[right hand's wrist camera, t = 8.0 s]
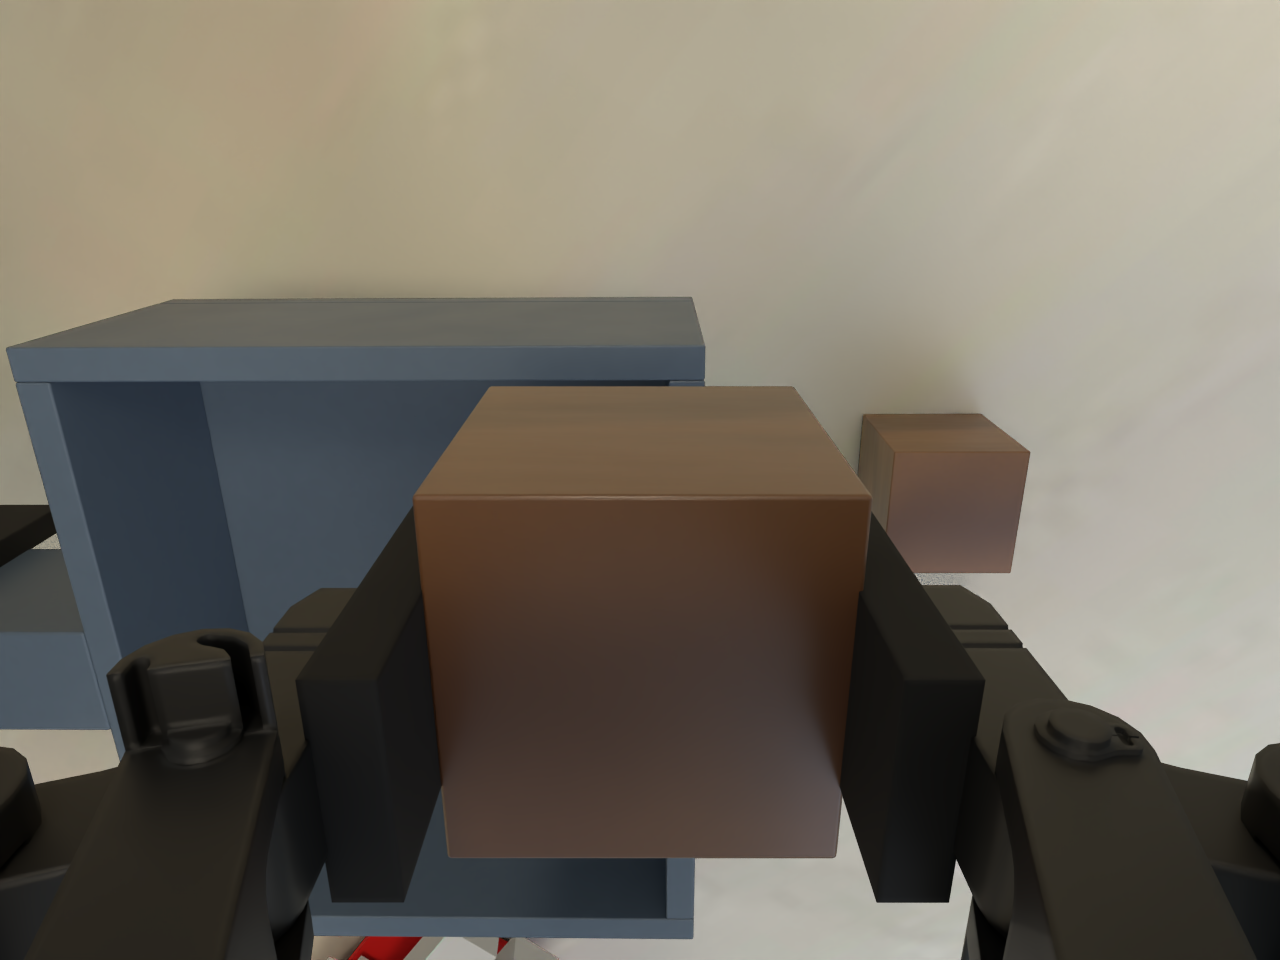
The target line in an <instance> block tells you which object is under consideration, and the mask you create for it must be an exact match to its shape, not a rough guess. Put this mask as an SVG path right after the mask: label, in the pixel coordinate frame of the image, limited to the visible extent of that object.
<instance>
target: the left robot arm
mask: <svg viewBox="0 0 1280 960" xmlns="http://www.w3.org/2000/svg"><path fill="white" fill-rule="evenodd" d="M56 533H57V532H56V528H55V525H54V521H53V517H52V514H51V510H50V507H49V505H0V567H2V566H3V565H5V564H6V563H8V562H10V561H11V560H13V559H15V558H16V557H18V556H19V555H21V554H23V553H24V552H26V551H27V550H29V549H32V548H33V547H35V546H36V545H38V544H40V543H41V542H43V541H44V540H46V539H48V538H49V537H51V536H52V535H54V534H56Z"/></svg>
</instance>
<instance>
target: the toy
mask: <svg viewBox="0 0 1280 960" xmlns="http://www.w3.org/2000/svg"><path fill="white" fill-rule="evenodd" d="M327 960H337V959H335V958H332V957H330V956H329V957H328V958H327ZM348 960H559V958H558V957H556V956H554V955H553V954H551V953H549V952H548V951H546V950H544V949H543V948H541V947H539V946H538V945H536V944H534V943H533V942H531V941H529V940H528V939H526V938H511V939H510V940H509V942H507V941H505V940H503V939H502V938H500V937H398V936H366V937H365V938H364V940H363V941H362V942H361V943H360V945H359V946H358V947H357V949H356V950H355V951H354V952H353V954H352V955H351V956H350V957H349V959H348Z"/></svg>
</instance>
